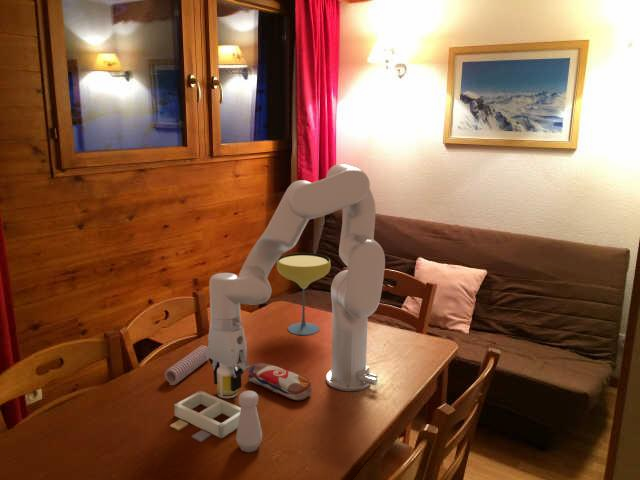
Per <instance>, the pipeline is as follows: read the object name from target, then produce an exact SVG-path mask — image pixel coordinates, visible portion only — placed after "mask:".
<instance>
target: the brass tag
mask: <svg viewBox="0 0 640 480" xmlns="http://www.w3.org/2000/svg"><path fill="white" fill-rule="evenodd" d="M188 426H189V422H187V421H185V420H182V419H178V420H177V421H175V422H173V423H171V424H170V425H169V427H170V428H171V429H173V430H176V431H178V432H179V431H181V430H183V429H185V428H186V427H188Z"/></svg>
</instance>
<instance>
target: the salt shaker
mask: <svg viewBox="0 0 640 480" xmlns="http://www.w3.org/2000/svg"><path fill="white" fill-rule="evenodd" d="M258 403H259V395H258V393H257V392H256V391H254V390H244V391H242V392H241V393H240V394H239V395H238V405H239V407H240V408H241V411H240V417H239V423H238V428H237V429H236V436H235V441H236V443H237V444H238V446H239V448H240V450H241V451H242V452H247V453H251V452H252V453H253V452H255V451H257V450H258V447H259V446H260V444H261V442H262V441H263V430H262V427H261V421H260V418H259V412H258V408H257V405H258Z"/></svg>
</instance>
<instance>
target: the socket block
mask: <svg viewBox="0 0 640 480" xmlns="http://www.w3.org/2000/svg"><path fill="white" fill-rule="evenodd" d="M200 405H202V406H205V407H206V408H204V409H203V410H201V411H200V412H198V411H196V410H194V408H196V407H198V406H200ZM173 407H174V416H175V417H176V418H179V420H182V421H184V422H186V423H188V424H189V423H190V424H191V425H193V426H195V427H197V428H199V429H201V430H203V431H205V432H207V433H209V434H211V435H214V436H216V437H218V438H220V439H223V438H225V437H226V436H228V435H229V434H230V433H231V434H232V432H234V431H235V430H237V429H238V423H239V417H240V411H241V406H237V405H236V404H233V403H230V402H228V401H226V400H224V399H221V398H220V397H216V396H214V395H212V394H210V393H208V392H205V391H202V390H199V391H197V392H196V393H193V394H192V395H190V396H188V397H186V398H184V399H182V400H180V401H178V402H177V403H175V404H174V406H173ZM220 415H225V416H227V417H229V418H227V419H225V420H224V421H223V422H219V421H218V420H215V418H217V417H218V416H220Z"/></svg>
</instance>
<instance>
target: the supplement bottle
mask: <svg viewBox="0 0 640 480" xmlns="http://www.w3.org/2000/svg"><path fill="white" fill-rule="evenodd" d="M235 369H236V371H237V370H238V369H237V367H235ZM231 377H232V372H231V368H230V366H227V365H224V364H222V363H219V367H218V369H217V388H216V389H217V395H218V398H220V399H221V398H222V399H232V398H235V397H236V396H237V395H238V394H239V389H237V390H236V391H234V392H233V391H231Z"/></svg>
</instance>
